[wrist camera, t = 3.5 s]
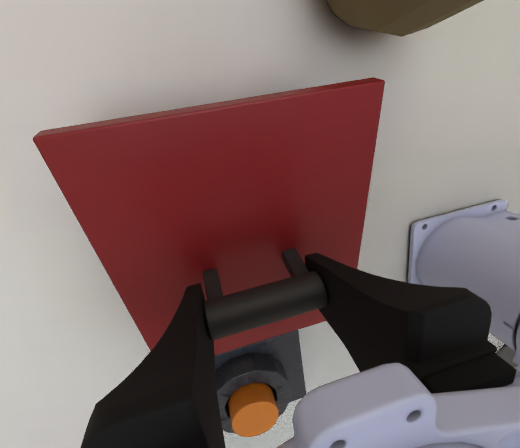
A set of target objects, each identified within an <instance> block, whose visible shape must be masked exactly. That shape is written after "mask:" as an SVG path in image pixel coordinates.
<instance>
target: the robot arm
mask: <svg viewBox="0 0 520 448" xmlns="http://www.w3.org/2000/svg"><path fill="white" fill-rule="evenodd" d="M507 206H508V202H507V201H506V200H504V199H499V200H496V201H492V202H488V203H484V204H480V205H477V206H473V207H469V208H465V209H461V210H458V211H454V212H450V213H446V214H442V215H439V216H435V217H431V218H427V219H423V220H420V221H416V222H414V223H413V224H412V226H411V236H410V253H409V270H408V283H406V282H401V281H396V280H391V279H387V278H383V277H379V276H376V275H372V274H369V273H366V272H363V271H360V270H358V269H355V268H352V267H350V266H347V265H345V264H342V263H340V262H338V261H335V260H333V259H331V258H328V257H326V256H324V255H321V254H319V253H313V254H309V255H305V265H306V267H307V269H308V270H309V272H311V271H316V272H317V273H318V274H319V275H320V277H321V279H322V280H323V283H324V285H325V288H326V292H327V299H328V302H327V305H326V306H325V307H323V308H320V309H319V311H320V312H321V313H322V315H323V316H324V318H325V319H326V320H327V322H328V323H329V324H330V326H331V327H332V328H333V330H334V331H335V333H336V334H337V335H338V337H339V338H340V339H341V341H342V342H343V344H344V345H345V347H346V348H347V350H348V351H349V353H350V355H351V357H352V358H353V360H354V362H355V364H356V365H357V367H358V369H359V371H360V372H359V373H357V374H354V375H351V376H348V377H345V378H342V379H339V380H336V381H334V382H331V383H328V384H325V385H322V386H319V387H317V388H316V389H314V390H312V391H310V392H308V393H307V394H305V396H304V397H303V398H302V399H301V400H300V401H299V403H298V404H297V405H296V407H295V410H294V415H293V426H294V437H293V438H291V439H289V440H288V441H286V442H285V443H283V444H282V445H280V446H278V447H277V448H520V215H519V214H516V213H512V212H509V211H507ZM422 226H423V227H422ZM204 301H205V297H204V293H203V290H202V286H201V283H198V284H195V285H191V286H187V288H186V289H185V292H184V295H183V297H182V300H181V302H180V304H179V306H178V308H177V310H176V313H175V315H174V317H173V318H172V320H171V322H170V324H169V325H168V327H167V329H166V331H165V332H164V334H163V335H162V337H161V338H160V340H159V341H158V343H157V344H156V345H155V347H154V348H153V349H152V350H151V352H150V353H149V354H148V355H147V356H146V358H145V359H144V360H143V361H142V362H141V363H140V364H139V366H138V367H137V368H136V369H135V370H134V371H133V372H132V373H131V374H130V375H129V376H128V377H127V378H126V379H125V380H124V381H122V382H121V383H120V384H119V385H118V386H117V387H116V388H115V389H113V390H112V391H111V392H110V393H109V394H108V395H106V396H105V397H104V398H103V399H102V400H100V401H99V402H98V403H97V404H96V405H95V408H94V410H93V413H92V415H91V417H90V420H89V423H88V425H87V428H86V432H85V435H84V438H83V442H82V445H81V448H225V442H224V436H223V429H222V423H221V417H220V410H219V403H218V397H217V389H216V375H215V355H214V340H212V339H211V338H210V335H209V331H208V327H207V323H206V318H205V313H204V306H203V304H204ZM489 333H490V334H492V335H493V336H495V337H496V338H497V339H499V340H500V341H502V342H503V343H504V344H506V345H507V346H509V347H510V348H511V349H513V350H514V351H516V353H515V356H514V358H513V362H514V363H516V364H517V365H518V366H517V367H513V366H511V365H510V364H509V363H507V362H506V361H505V360H504V359H502V358H501V357H500V356H498V355H497V354H496V353H494V352H496V351H497V348H496V346H494V345H493V344H492V343H490V342H489V341H488V340H487V339H488V334H489Z"/></svg>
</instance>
